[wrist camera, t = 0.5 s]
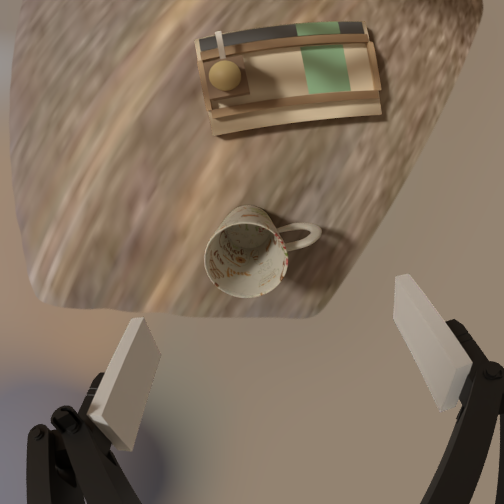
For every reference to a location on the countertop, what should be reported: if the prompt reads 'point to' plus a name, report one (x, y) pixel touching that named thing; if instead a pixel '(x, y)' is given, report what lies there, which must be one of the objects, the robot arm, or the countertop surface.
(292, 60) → the tuner board
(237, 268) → the mug
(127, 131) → the countertop surface
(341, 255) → the countertop surface
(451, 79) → the countertop surface
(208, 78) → the slider knob
